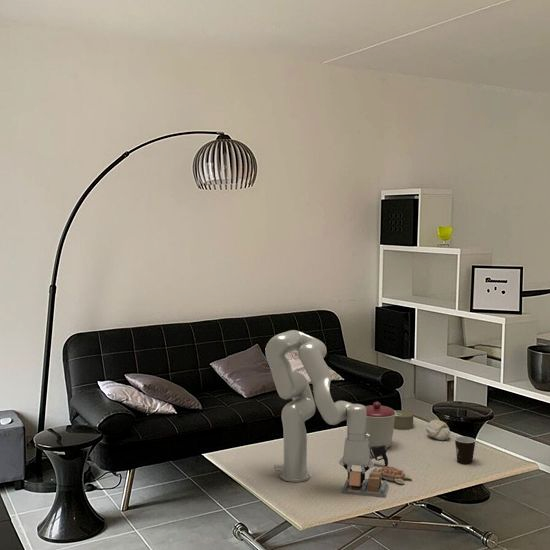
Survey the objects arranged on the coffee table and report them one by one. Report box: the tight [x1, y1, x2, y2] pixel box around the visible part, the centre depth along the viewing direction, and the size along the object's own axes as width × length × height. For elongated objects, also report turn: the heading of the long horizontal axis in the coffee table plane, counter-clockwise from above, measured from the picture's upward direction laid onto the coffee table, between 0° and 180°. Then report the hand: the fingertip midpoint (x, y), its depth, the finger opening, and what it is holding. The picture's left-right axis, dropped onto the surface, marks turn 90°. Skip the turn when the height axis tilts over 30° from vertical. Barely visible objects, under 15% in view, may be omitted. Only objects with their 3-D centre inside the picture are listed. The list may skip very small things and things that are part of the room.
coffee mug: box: [454, 436, 476, 466], centre depth 311 cm, size 12×9×10 cm
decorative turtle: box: [372, 465, 413, 485], centre depth 292 cm, size 18×17×5 cm
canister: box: [364, 401, 397, 449], centre depth 331 cm, size 18×18×21 cm
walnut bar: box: [367, 470, 382, 492], centre depth 279 cm, size 8×4×5 cm, turn 164°
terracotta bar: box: [349, 470, 362, 486], centre depth 280 cm, size 8×4×5 cm, turn 164°
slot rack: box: [340, 477, 390, 498], centre depth 280 cm, size 17×11×3 cm, turn 74°
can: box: [393, 409, 415, 431], centre depth 362 cm, size 12×12×7 cm
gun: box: [370, 445, 389, 467], centre depth 308 cm, size 3×16×10 cm, turn 60°
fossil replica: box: [425, 419, 451, 441], centre depth 343 cm, size 12×8×10 cm
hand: (356, 481), depth 281 cm, fingers closed on terracotta bar, 3 cm apart
